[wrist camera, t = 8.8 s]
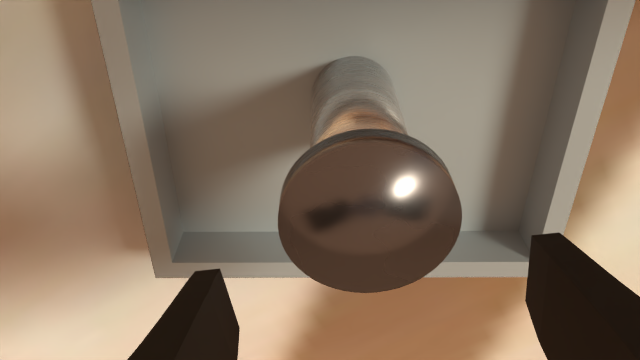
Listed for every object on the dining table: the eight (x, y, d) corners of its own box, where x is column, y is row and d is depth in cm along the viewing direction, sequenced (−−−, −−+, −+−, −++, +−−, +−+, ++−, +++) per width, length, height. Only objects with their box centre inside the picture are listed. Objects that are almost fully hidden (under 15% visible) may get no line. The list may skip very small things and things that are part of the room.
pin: (411, 28, 18) (463, 133, 11) (415, 141, 20) (461, 284, 14) (283, 44, 18) (261, 157, 12) (302, 154, 20) (293, 299, 14)
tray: (607, -55, 17) (648, -41, 15) (529, 237, 23) (550, 277, 21) (111, -52, 17) (82, -38, 15) (170, 239, 23) (155, 277, 21)
